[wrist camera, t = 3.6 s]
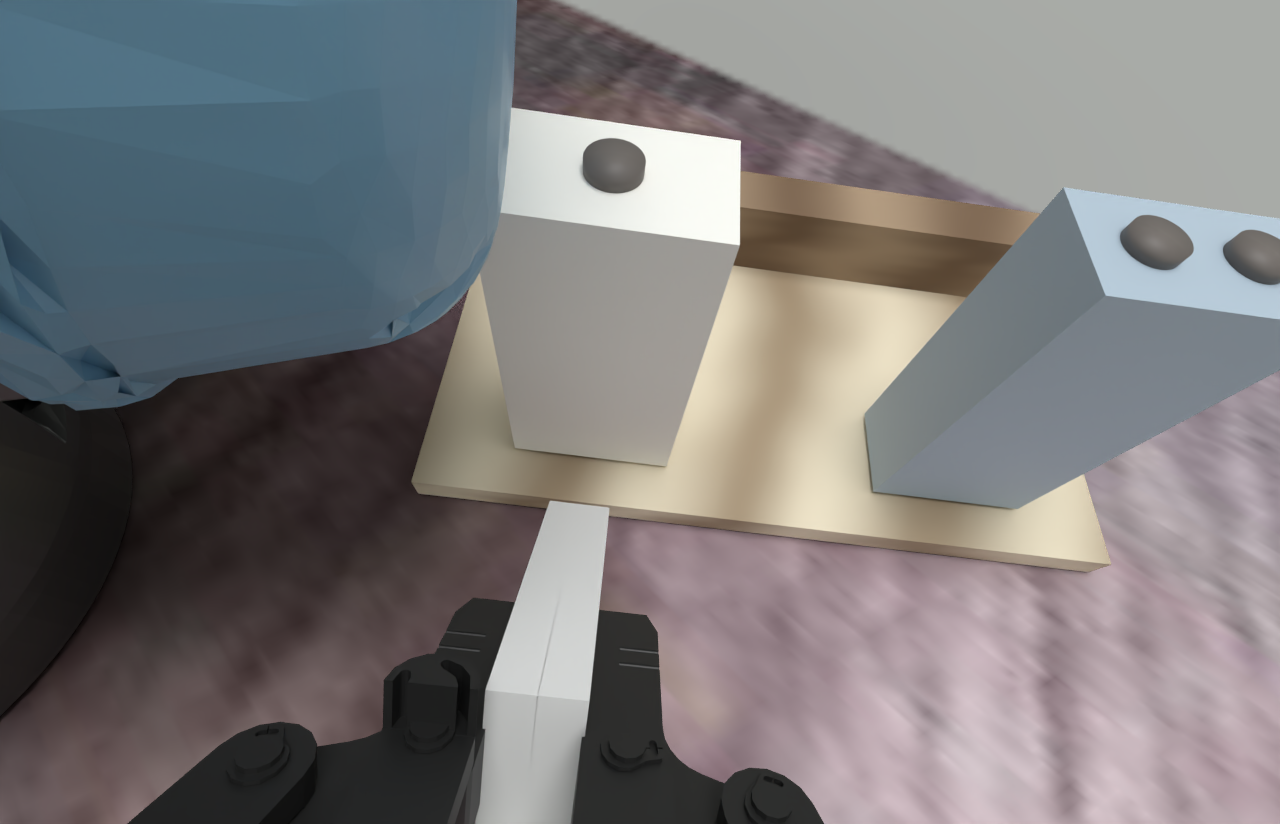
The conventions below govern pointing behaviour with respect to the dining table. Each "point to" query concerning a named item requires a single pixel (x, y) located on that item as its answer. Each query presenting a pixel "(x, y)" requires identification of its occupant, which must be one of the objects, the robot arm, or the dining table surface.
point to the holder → (783, 390)
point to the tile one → (607, 280)
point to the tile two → (1081, 349)
